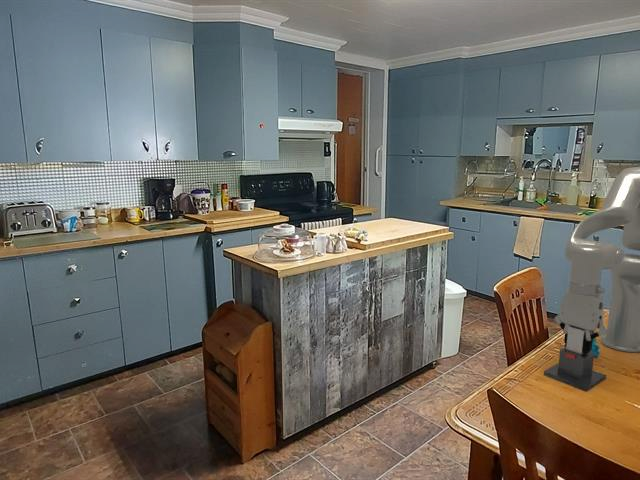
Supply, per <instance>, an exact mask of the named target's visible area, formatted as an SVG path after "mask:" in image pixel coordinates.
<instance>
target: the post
mask: <svg viewBox="0 0 640 480" xmlns="http://www.w3.org/2000/svg"><path fill="white" fill-rule="evenodd" d="M585 339H586V333H585V329H581V328H578V327H574V326H569V327H568V337H567V346H566V351H568V352H571V353H574V354H577V355H580V356H583V355H585V353H583V345H584V340H585ZM587 353H588V352H587ZM587 353H586V354H587Z"/></svg>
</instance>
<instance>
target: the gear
mask: <svg viewBox="0 0 640 480" xmlns="http://www.w3.org/2000/svg"><path fill="white" fill-rule="evenodd" d="M597 341H598V338H597V337H596V338H594V339H593V342H592V349H591V351H594V358H598V357H599V355H600V354H601V352H600V348H601V347H600V346H599V345H598V344H597V343H598V342H597Z"/></svg>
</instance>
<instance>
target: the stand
mask: <svg viewBox="0 0 640 480" xmlns="http://www.w3.org/2000/svg"><path fill="white" fill-rule="evenodd" d="M558 356H559V357H558V363H556V364H554V365H552V366H551V367H549V368H546V370H544V371H543V376H545V377H547V378H549V379H550V378H551V379H553V380H556V381H558V382H560V383H563V384H566V385H568V386H569V387H574V388H576V389H577V390H581V391H584V392H586V393H587V392H589V391H590V390H591V389H593V388H596V386H597V385H599V384H600V383H602V382H604V381H605V380H606V379H607V375H606V374H604V373H601V372H598V371H596V370H593V367H594V360H595V357H594V351H589V352H588V353H587V354H585V355H583V356H580V355H577V354H574V353H571V352H568V351H566V347H565V346H564V347H563V348H560V349H559V354H558Z"/></svg>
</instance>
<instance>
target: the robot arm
mask: <svg viewBox="0 0 640 480" xmlns="http://www.w3.org/2000/svg"><path fill="white" fill-rule="evenodd" d="M620 226H623V230H622V236H621V244H622V246H619V245H618V244H616V243H613V242H607V241H599V240H594V239H588V238H589V237H590V236H592V235H594V234H595V233H598V232H601V231H604V230H609V229H613V228H618V227H620ZM621 247H624V248H626V249H628V250H632V251H638V252H640V166H634V167H627V168H624V169H623V170H621V171H620V173H618V174H617V175H616V176H615V178H614V180H613V182H612V185H611V186H610V189H609V191H608V193H607V195H606V197H605V200H604V201H603V204H602V207H601V208H600V209H599V210H597V211H595V212H593V213H592V214H590V215H588V216H586V218H584V219H583V220H581V221H580V222H579V223H577V225H576V226H574V228H573V230H572V232H571V234H570V237H569V239H568V240H567V243H566V246H565V250H564V251H565V252H564V253H565V258H566V260H568V262H570V268H569V269H570V270H569V277H568V279H569V281H568V287H567V288H568V289H566V290H565V293H564V295H563V298H562V301H561V306H560V307H561V308H560V312H559V313H558V314H557V315H556V316H555V317H554V318H553V319H554V322H556V323H557V324H558V325H559V327H560V328H561V329H562V331H563V332H562V333H563V334H564V339H563V341H564V342H563V343H564V347H566V346H567V337H568V327H569V326H574V327H578V328H581V329H585V333H586V339H585V340H584V345H583V353H585V354H586V353H587V352H589V351H591V349H592V342H593V339H594V338H596V339H597V338H598V337H600V338H599V341H600V343H601V344H602V345H603V346H606V347H608V348H610V349H614V350H617V351H620V352H625V353H639V352H640V254H634V253H624V251H623V248H621ZM603 270H610V273H611V274H610V276H611V277H610V278H611V290H610V291H611V292H610V299H609V306H608V316H607V325H606V326H605V324H604V315H605V314H604V313H605V312H604V299H603V295H602V294H605V293H606V289H605V288H603V287H602V285H601V281H602V280H601V277H602V272H603ZM597 329H598V330H599V331H597ZM595 331H596V332H595Z"/></svg>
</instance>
